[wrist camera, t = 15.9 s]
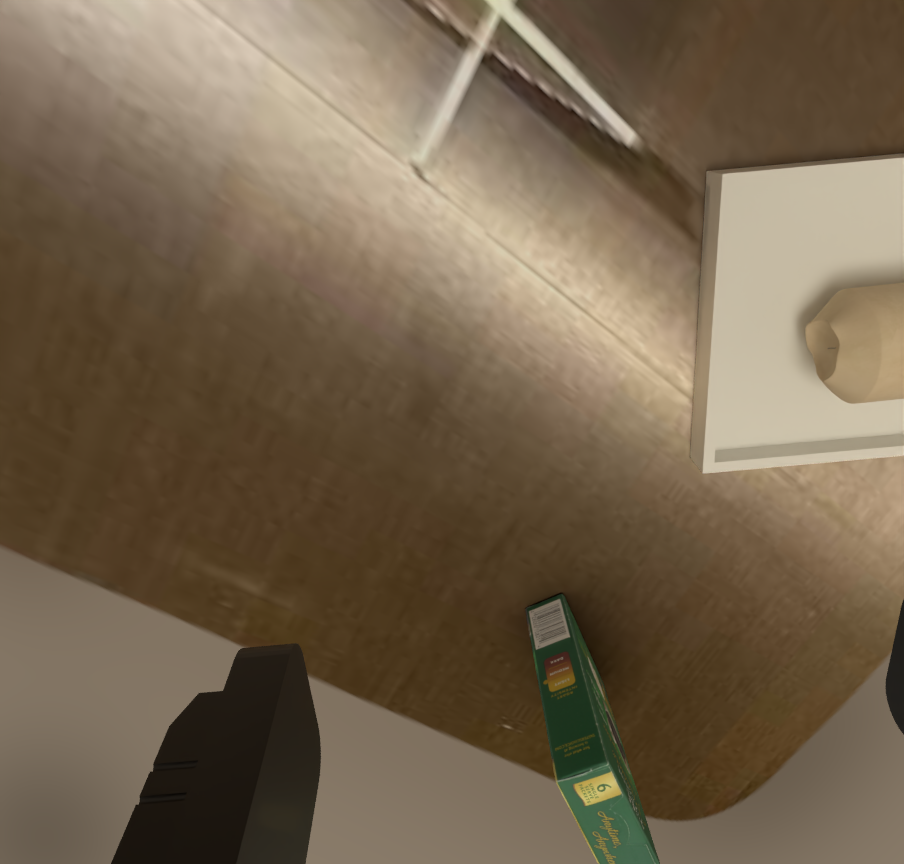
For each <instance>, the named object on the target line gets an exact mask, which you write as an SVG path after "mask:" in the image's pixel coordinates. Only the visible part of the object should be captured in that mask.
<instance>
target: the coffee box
mask: <svg viewBox="0 0 904 864" xmlns="http://www.w3.org/2000/svg"><path fill="white" fill-rule="evenodd" d="M525 610H526V616H527V623H528V628H529V634H530V639H531V644H532V650H533V656H534V660H535V666H536V672H537V678H538V683H539V689H540V694H541V699H542V705H543V711H544V716H545V722H546V727H547V735H548V739H549V745H550V751H551V756H552V762H553V768H554V774H555V780H556V783H557V785H558V787H559V789H560V791H561V793H562V795H563V797H564V799H565V801H566V802H567V804H568V806H569V808H570V810H571V812H572V814H573V816H574V818H575V820H576V822H577V824H578V826H579V828H580V830H581V832H582V833H583V836H584V837H585V839H586V841H587V843H588V845H589V847H590V849H591V851H592V853H593V855H594V857H595V859H596V861H597V863H598V864H660V862H659V859H658V856H657V853H656V850H655V847H654V844H653V840H652V837H651V834H650V831H649V828H648V824H647V821H646V818H645V815H644V812H643V809H642V806H641V802H640V799H639V796H638V793H637V790H636V787H635V784H634V781H633V778H632V774H631V771H630V768H629V765H628V761H627V758H626V755H625V752H624V748H623V745H622V742H621V738H620V735H619V732H618V729H617V725H616V722H615V719H614V716H613V713H612V710H611V706H610V703H609V701H608V697H607V694H606V690H605V687H604V684H603V681H602V679H601V677H600V675H599V672H598V670H597V667H596V665H595V663H594V661H593V659H592V657H591V655H590V652H589V650H588V648H587V646H586V643H585V641H584V639H583V636H582V634H581V632H580V630H579V628H578V625H577V623H576V621H575V618H574V616H573V614H572V612H571V610H570V607H569V605H568V603H567V601H566V598H565V596H564V595H563V594H559V595H557V596H555V597H553V598H550V599H548V600H545V601H543V602H540V603H538V604H535V605H532V606H530V607H527V608H526V609H525Z"/></svg>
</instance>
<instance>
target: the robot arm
mask: <svg viewBox="0 0 904 864" xmlns="http://www.w3.org/2000/svg"><path fill="white" fill-rule="evenodd" d="M886 695H887V701H888V704H889V707H890V711H891V713H892V716H893V718H894V720H895V722H896V724H897V725H898V727H899V729H900V730H901V731H902V733H903V734H904V600H903V603H902V606H901V611H900V616H899V620H898V625H897V630H896V635H895V639H894V644H893V649H892V653H891V658H890V663H889V667H888V672H887V677H886ZM320 749H321V748H320V735H319V728H318V723H317V718H316V714H315V709H314V704H313V700H312V695H311V691H310V686H309V681H308V676H307V671H306V667H305V662H304V657H303V653H302V650H301V648H300V646H299V645H298V644H296V643H295V644H284V645H273V646H262V647H250V648H242V649H240V650H239V651H238V653H237V655H236V657H235V659H234V662H233V665H232V667H231V670H230V673H229V676H228V679H227V681H226V684H225V687H224V690H223V691H219V692H207V693H199V694H198V695H197V696H196V697H195V698H194V699H193V701H192V702H191V703H190V704H189V705H188V706H187V707H186V708H185V709H184V710H183V712H182V713H181V714H180V715H179V716H178V717H177V718H176V719H175V721H174V722H173V723H172V724H171V725H170V726H169V729H168V731H167V733H166V736H165V738H164V740H163V742H162V745H161V747H160V750H159V752H158V755H157V757H156V759H155V761H154V764H153V765H154V768H153V772H150V773H149V775H148V778H147V780H146V782H145V785H144V787H143V790H142V792H141V794H140V803H139V805H136V806H135V808H134V811H133V813H132V815H131V818H130V820H129V822H128V825H127V827H126V830H125V832H124V834H123V837H122V839H121V841H120V844H119V846H118V848H117V851H116V854H115V855H114V858H113V860H112V863H111V864H305V863H306V857H307V851H308V845H309V838H310V832H311V826H312V820H313V814H314V808H315V802H316V795H317V789H318V783H319V776H320V763H321V761H320V760H321V753H320V752H321V750H320Z"/></svg>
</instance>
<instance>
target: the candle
mask: <svg viewBox="0 0 904 864" xmlns="http://www.w3.org/2000/svg"><path fill="white" fill-rule="evenodd" d="M805 335H806V344H807V347H808V349H809V350H810V352H811V353H812V356H813V359H814V363H815V366H816V373H817V375H818V377H819V379H820V380H821V381H822V382H823V383H824V384H825V386H826V387H827V388H828V389H829V390H830V391H831V392H832V393H834V394H835V395H836V396H837V397H838V398H840V399H841V400H843V401H845V402H847V403H851V404H856V403H866V402H876V401H886V400H896V399H904V283H895V284H886V285H876V286H866V287H857V288H848V289H843V290H841V291H839V292H837V293H836V294H835V295H834V296H833V297H832V298H831V299H830V301H829V302H828V303H827V304H826V305H825V306H824V308H823V309H822V310H821V311H820V312H819V313H818V314H817V316H816V317H815V318H814V319H813V320H812V321H811V322H810V323H809V324H807V325H806V329H805Z"/></svg>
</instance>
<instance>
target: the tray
mask: <svg viewBox="0 0 904 864" xmlns="http://www.w3.org/2000/svg"><path fill="white" fill-rule="evenodd" d="M895 283H904V153H900V154H889V155H878V156H867V157H856V158H845V159H834V160H823V161H812V162H801V163H790V164H779V165H768V166H757V167H746V168H735V169H724V170H713V171H707V172H706V189H705V206H704V223H703V241H702V258H701V275H700V292H699V309H698V327H697V344H696V361H695V378H694V395H693V412H692V430H691V447H690V458H691V460H692V461H693V462H694V463H695V465H696V466H697V467H698V468H699V470H700V471H701V472H702V474H704V473H715V472H726V471H738V470H749V469H760V468H771V467H782V466H794V465H805V464H816V463H827V462H838V461H850V460H861V459H872V458H883V457H894V456H904V399H896V400H886V401H876V402H866V403H856V404H851V403H847V402H845V401H843V400H841V399H840V398H838V397H837V396H836V395H835V394H834V393H832V392H831V391H830V390H829V389H828V388H827V387H826V386H825V384H824V383H823V382H822V381H821V380H820V379H819V377H818V375H817V373H816V366H815V363H814V359H813V356H812V353H811V352H810V350H809V349H808V347H807V344H806V335H805V329H806V325H807V324H809V323H810V322H811V321H812V320H813V319H814V318H815V317H816V316H817V314H818V313H819V312H820V311H821V310H822V309H823V308H824V306H825V305H826V304H827V303H828V302H829V301H830V299H831V298H832V297H833V296H834V295H835V294H836V293H837V292H839V291H841V290H843V289H848V288H857V287H866V286H876V285H886V284H895Z"/></svg>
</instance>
